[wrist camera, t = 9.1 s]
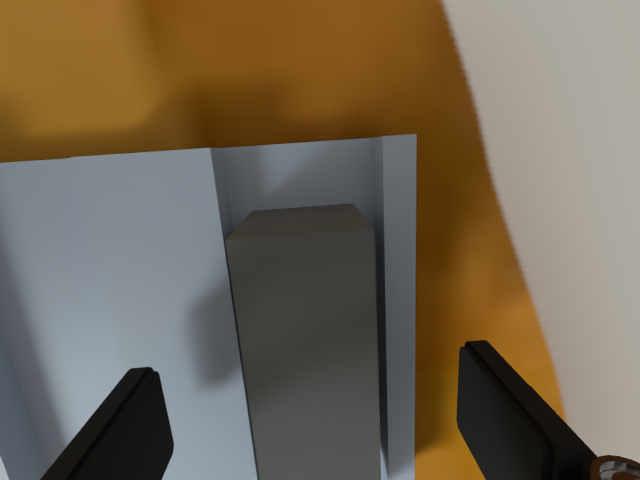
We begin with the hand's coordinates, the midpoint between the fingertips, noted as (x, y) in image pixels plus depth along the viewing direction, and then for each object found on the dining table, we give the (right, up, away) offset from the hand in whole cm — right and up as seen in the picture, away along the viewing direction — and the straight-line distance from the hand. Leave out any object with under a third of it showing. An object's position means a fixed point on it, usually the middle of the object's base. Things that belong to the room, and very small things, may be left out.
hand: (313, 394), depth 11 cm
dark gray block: (0, +1, +3) cm, 3 cm away
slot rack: (-5, +1, +4) cm, 6 cm away
